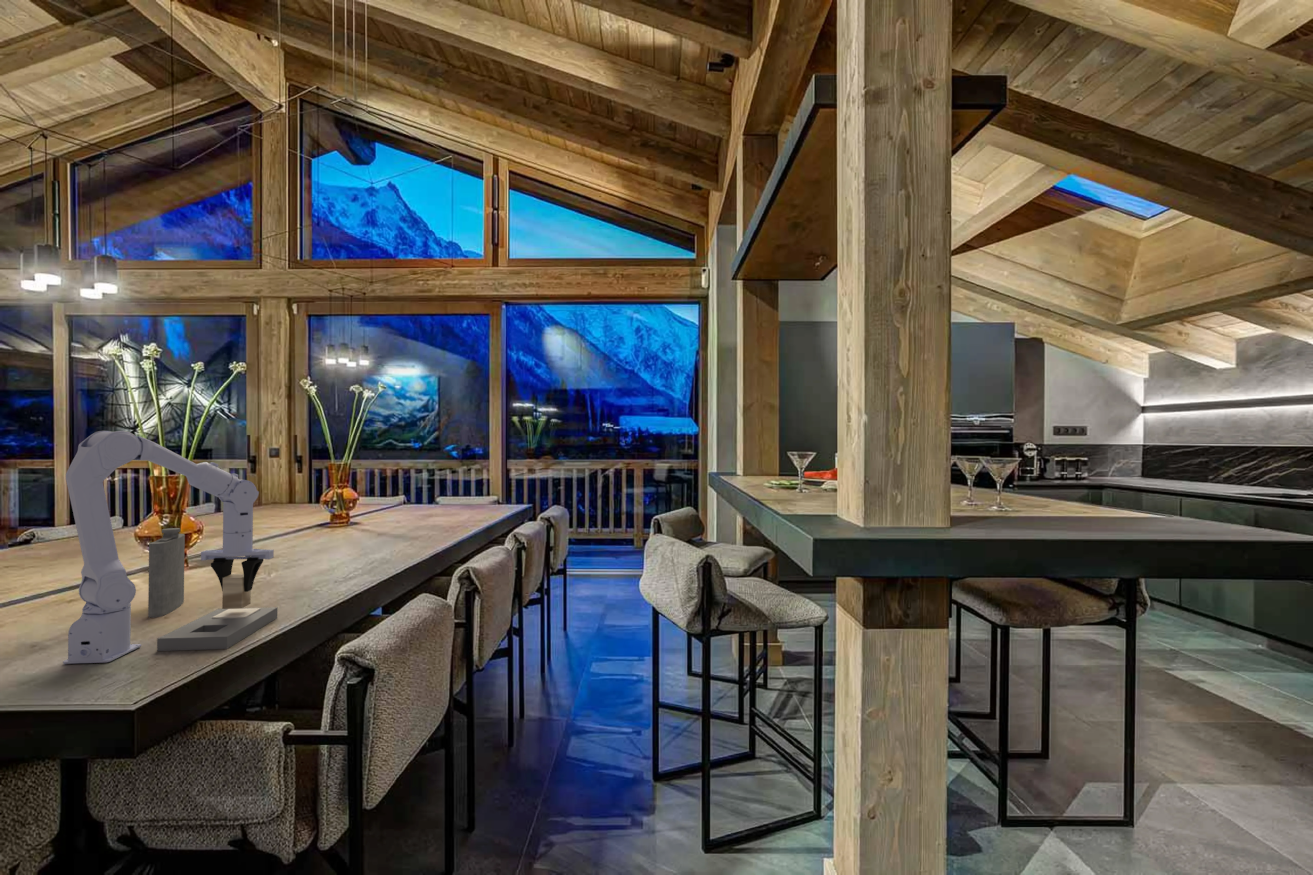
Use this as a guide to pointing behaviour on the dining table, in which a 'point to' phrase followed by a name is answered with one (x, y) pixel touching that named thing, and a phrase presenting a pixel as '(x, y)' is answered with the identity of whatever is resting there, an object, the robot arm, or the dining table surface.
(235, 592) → the peg
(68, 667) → the dining table surface
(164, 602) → the hip flask
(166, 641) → the pocket plate
